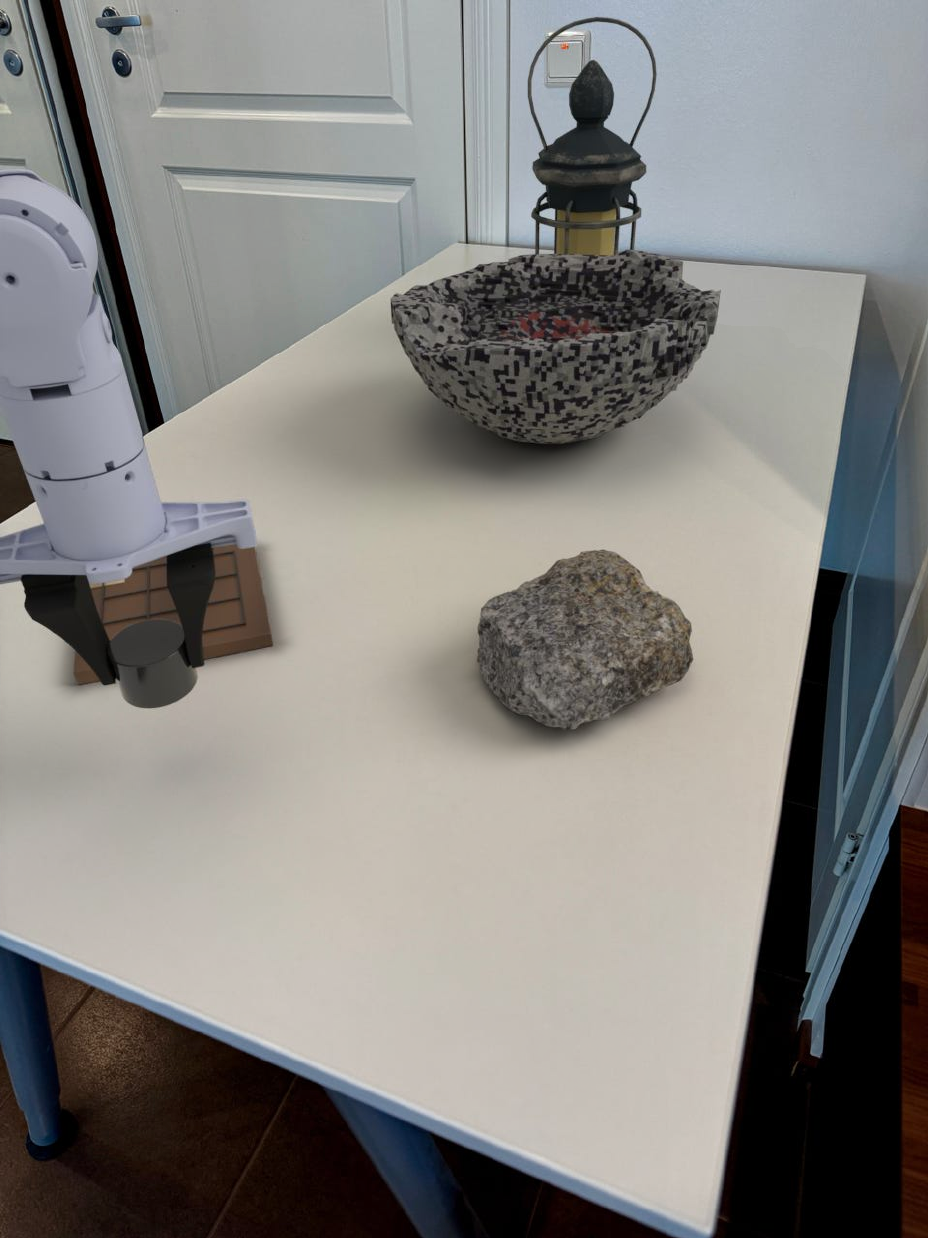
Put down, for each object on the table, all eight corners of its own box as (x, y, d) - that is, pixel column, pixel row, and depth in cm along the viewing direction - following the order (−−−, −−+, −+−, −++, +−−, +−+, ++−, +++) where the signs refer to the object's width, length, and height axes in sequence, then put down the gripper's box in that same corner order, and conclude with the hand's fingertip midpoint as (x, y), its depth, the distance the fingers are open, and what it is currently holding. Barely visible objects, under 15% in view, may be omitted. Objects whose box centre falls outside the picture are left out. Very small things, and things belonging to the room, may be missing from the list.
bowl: (712, 383, 102) (731, 247, 93) (681, 518, 78) (703, 353, 69) (456, 361, 110) (450, 235, 101) (357, 478, 86) (339, 326, 77)
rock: (545, 766, 55) (720, 683, 61) (551, 690, 51) (738, 609, 57) (444, 655, 64) (606, 592, 70) (442, 583, 60) (615, 522, 66)
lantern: (626, 321, 120) (649, 9, 99) (645, 356, 109) (675, 16, 88) (522, 326, 120) (522, 15, 99) (530, 362, 109) (533, 22, 88)
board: (77, 685, 63) (71, 671, 62) (87, 580, 74) (82, 566, 73) (273, 645, 66) (270, 631, 65) (255, 550, 77) (252, 536, 76)
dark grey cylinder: (120, 716, 50) (104, 673, 48) (122, 668, 53) (108, 626, 51) (199, 699, 51) (186, 657, 49) (196, 653, 54) (185, 612, 52)
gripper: (-95, 517, 38) (12, 739, 47) (240, 466, 41) (285, 683, 49) (-64, 449, 44) (27, 658, 52) (230, 407, 47) (272, 612, 55)
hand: (153, 665), depth 51 cm, fingers closed on dark grey cylinder, 4 cm apart
